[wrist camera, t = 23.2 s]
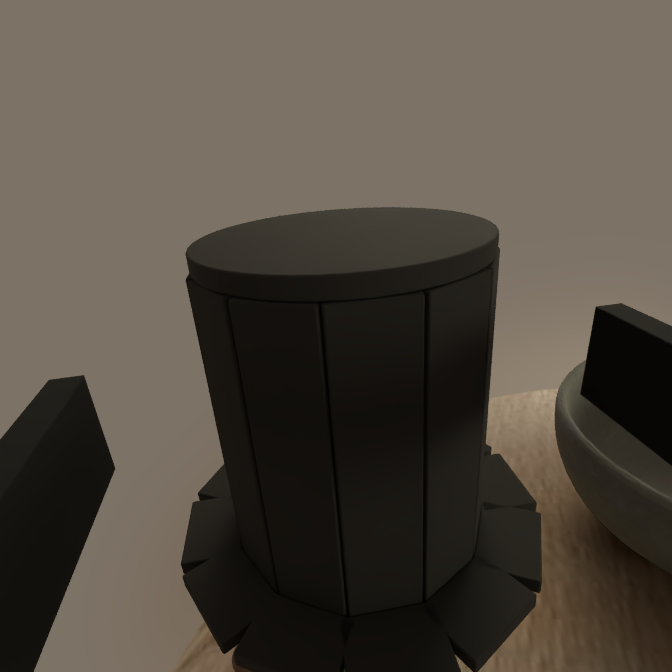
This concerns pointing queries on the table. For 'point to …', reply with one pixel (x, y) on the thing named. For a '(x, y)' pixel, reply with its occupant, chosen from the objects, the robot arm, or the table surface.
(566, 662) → the table surface
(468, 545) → the hat
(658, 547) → the bowl
